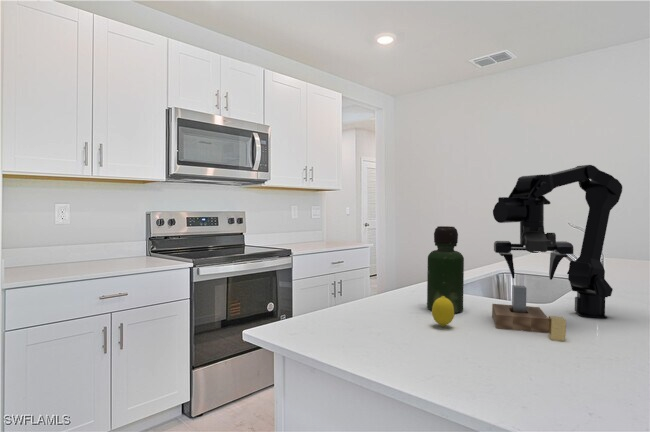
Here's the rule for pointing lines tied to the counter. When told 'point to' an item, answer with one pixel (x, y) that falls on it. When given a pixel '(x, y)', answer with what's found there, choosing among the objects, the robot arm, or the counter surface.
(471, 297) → the counter surface
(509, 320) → the socket block
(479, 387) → the counter surface
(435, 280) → the dark green bottle
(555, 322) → the short pin
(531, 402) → the counter surface
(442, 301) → the lemon
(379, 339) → the counter surface
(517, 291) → the long pin
